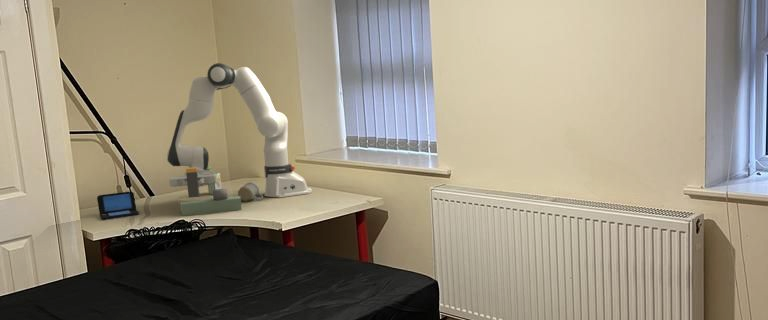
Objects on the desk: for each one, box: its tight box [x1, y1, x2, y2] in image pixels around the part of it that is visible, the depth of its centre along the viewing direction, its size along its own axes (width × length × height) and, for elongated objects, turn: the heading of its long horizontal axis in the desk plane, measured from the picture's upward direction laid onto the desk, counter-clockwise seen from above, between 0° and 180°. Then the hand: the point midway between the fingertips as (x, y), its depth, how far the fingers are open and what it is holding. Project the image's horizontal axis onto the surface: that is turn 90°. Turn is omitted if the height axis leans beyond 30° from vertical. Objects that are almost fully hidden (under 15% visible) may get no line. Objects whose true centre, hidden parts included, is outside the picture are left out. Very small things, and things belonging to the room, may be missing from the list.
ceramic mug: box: [237, 182, 264, 203], centre depth 329 cm, size 11×8×8 cm
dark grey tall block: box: [185, 167, 200, 198], centre depth 313 cm, size 4×6×13 cm
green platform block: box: [180, 188, 243, 217], centre depth 313 cm, size 25×12×9 cm, turn 103°
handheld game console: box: [96, 191, 140, 221], centre depth 315 cm, size 16×13×9 cm
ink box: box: [207, 165, 222, 196], centre depth 352 cm, size 7×4×13 cm, turn 168°
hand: (192, 182), depth 312 cm, fingers closed on dark grey tall block, 4 cm apart
